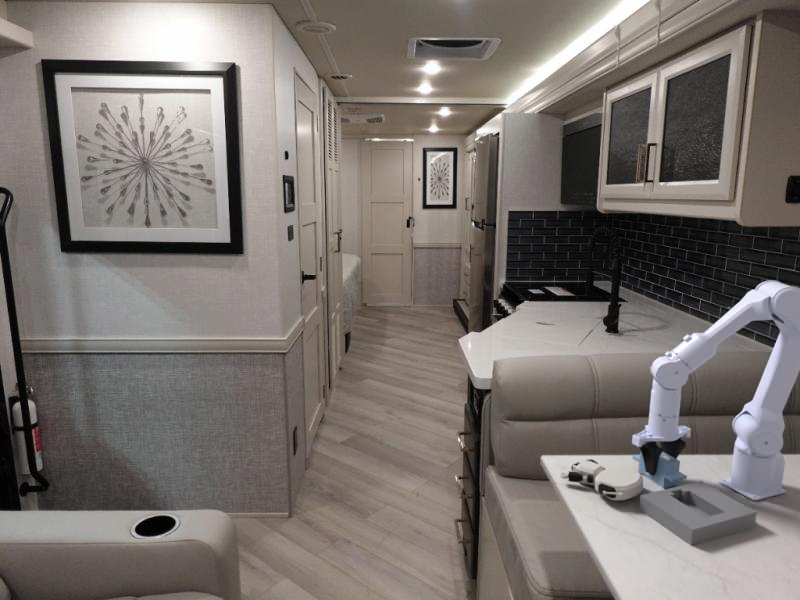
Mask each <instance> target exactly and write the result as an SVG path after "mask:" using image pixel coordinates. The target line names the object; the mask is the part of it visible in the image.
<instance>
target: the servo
mask: <svg viewBox="0 0 800 600" xmlns="http://www.w3.org/2000/svg"><path fill="white" fill-rule="evenodd" d="M632 460H634V461H636V462H638V471H639V473H640V472H641V473H647V472H646V470H645V465H644V460H643V456H642V453H641V451H639V454H637V455H632ZM680 465H681V460H679V459H678V458H677V459H675V458H673V457H672V456H670V455H668V454H666V453H664V452H662V453H661V455H660V458H659V460H658V465H657V471H656V474H655V475H651V474H649V475H642V474H641V475H642V477H643V478H644V477H645V478H646V479H648V480H649V481H651V482H652V483H654V484H656V485H657V486H659V487H661V488H663V489H667V488H669V487H673V486H674V487H676V486H677V485H678V483H679V481H682V480H686V479H687V478H688V476H687V475H686V474H684V473H682V472H680ZM678 486H679V485H678Z"/></svg>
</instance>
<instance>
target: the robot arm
mask: <svg viewBox="0 0 800 600" xmlns="http://www.w3.org/2000/svg"><path fill="white" fill-rule="evenodd" d="M771 320H772V321H773V322H774V324H775V325H776V326H777V328H778V330H779V334H778V336H777V339H776V342H774V347H773V348H772V351H771V354H770V356H769V359H768V361H767V364H766V365H765V369H764V371H763V373H762V376H761V379H760V381H759V384H758V385H757V389H756V391H755V394H754V396H753V398H752V400H751V401H749V402H747V403H745V404H744V406H743V408H742V411H740V413H738V414H737V415H736V416H735V417H734V418H733V420H732V430H733V432H734V433H735V435H736V440H735V442H734V447H733V455H732V462H731V472H730V477H729V478H728V477H727V478H724V479H720V481H719V483H720V484H722V485H724V486H725V487H728V488H730V489H731V490H733V491H735V492H737V493H739V494H740V495H742V496H744V497H746V498H748V499H750V500H752V501H755V502H756V501H758V500H763V499H766V498H770V497H774V496H779V495H781V494H786V490H785V489H784V488H783V487H782V486H783V481H784V480H783V479H784V472H785V464H786V461H785V458H784V456H783V454H782V452H781V451H782V449H783V446H784V438H783V436H784V435H783V433H784V430H785V428H786V424H785V419H784V415H783V410H784V409H785V406H786V405H787V401H788V398H789V397H790V394H791V392H792V390H793V387H794V385H795V382H796V380H797V377H798V375H799V373H800V287H797V286H791V285H788V284H785V283H782V282H781V281H779V280H775V279H774V280H773V279H771V280H770V279H769V280H765V281H763V282H761V283H759V284H758V285H756V287H755V289H750V290H749V291H748V292H746V294H745V295H744V296H743V297H742V298H741V300H740V301H739V302H738V303H736V304H735V305H734V306H733V307H732V308H730V309H729V310H728V311H727V312H726V313H725V314H723V316H722V317H721V318H719V319H717V321H716V322H715V323H714V324H713V325H712V324H711V326H710V327H709V328H708V329H707V330H706V331H704V332H693V333H692V334H691V335H689V334H686V335H685V336H683V338H682V339H683V341H682V342H681V343H680V344H678V345H677V346H676V347H674V348H673V349H672V350H671V351H669V350H667V351H666V352H665V353H664V355H663V356H659V357H657V358H656V359H655V360H654V361H653V362H652V365H651V366H649V371H650V375H651V376H652V377H653V378H652V384H651V385H652V388H651V392H650V401H649V413H648V424H646V425H644V426H645V427H644V429H643V430H642V431H640V432H638V433H635V434H632V439H631V444H632V445H633V446H634V445H635V447H637V448H639V450H640V451H641V453H642V456H643V460H644V465H645V470H646V472H647V473H649V474H651V475H655V474H656V471H657V465H658V460H659V458H660V455H661V453H662V452H664V453H666V454H668V455H670V456H672V457H673V458H675V459H677V460H678V457H679V455H680V454H681V453H682V451H683V450H684V449H685V448H686V447H687V442H686V441H685V440H683V439H682V438H683V437H684V438H687V439H688V438H691V434H692V428H690V427H687V426H685V425H679V419H680V408H681V399H682V387H683V386H685V385H686V383H687V382H688V379H689V375H690V374H691V373H693V372H694V371H696V370H697V369H698V368H700V367H701V366H702V365H704V364H705V363H706V362H707V361H709V360H710V359H711V358H713V357H714V356H715V355H716V354H717V347H718V345H719V344H720V343H722V342H723V341H725V340H726V339H728V338H730V337H731V336H732V335H733V334H735V333H737V332H738V331H740V330H741V329H743V328H744V327H746V325H749V324H750V323H751V322H753V321H771ZM659 442H660V443H659ZM657 443H659V444H660V447H659V446H658V444H657ZM640 451H639V452H640Z"/></svg>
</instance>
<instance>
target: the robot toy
mask: <svg viewBox="0 0 800 600" xmlns="http://www.w3.org/2000/svg"><path fill="white" fill-rule="evenodd" d="M570 468H571V471H569V470H568V472H561V473H560V478H561V479H564V480H566V479H568V482H571V483H580V484H583V485H585V484H586V485H590V486H594V489H595V491H596V492H597V494H599V495H601V496H604V497H605V498H608V499H609V500H611V501H616V502H618V501H625V500H629V499H631V498H634V497H636V496H638V495H639V494H640V493H641V492H642V491H643V488H644V476H643V475H649V473H639V472H638V471H639V470H638V471H637V470H635V469H632V468H628V467H624V466H622V465H621V466H618V465H616V466H615V465H614V466H611V467H607V468H605V467H603V466H602V465H600V464H599V463H598V462H597V461H596V460H594V459H592V458H591V459H589V458H587V459H583V461H576V463H573V464H571V467H570ZM641 474H642V475H641Z"/></svg>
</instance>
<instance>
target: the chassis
mask: <svg viewBox="0 0 800 600" xmlns="http://www.w3.org/2000/svg"><path fill="white" fill-rule="evenodd" d="M638 506H639V507H638V509H639V511H641V512H642V513H644V514H645V515H647V516H648V517H650V518H651V519H652V520H654V521H655V522H657V523H659V525H660V526H661V525H662V527H664V528H666V529H667V530H668V531H669V532H671V533H672V534H674V535H675V536H677V537H678V538H680V539H681V540H683V541H684V542H685V543H687V544H688V545H690V546H693V545H696V544H700V543H703V542H706V541H709V540H713V539H717V538H720V537H724V536H727V535H730V534H733V533H738V532H741V531H745V530H748V529H751V528H755V526H756V521H757V513H758V512H757V511H755V509H752V508H750V507H748V506H747V505H745V504H743V503H742V502H739V501H738V500H736V499H734V498H732V497H730V496H729V495H727V494H725V493H723V492H721V491H719V490H718V489H717V488H714V487H713V486H710V485H709V484H707V483H706V482H704V481H702V480H700V481H695V482H691V483H687V484H682V485H678V486H674V487H671V488H669V487H668V488H664V489H661V490H657V491H654V492H649V493H645V494H640V496H639V505H638Z"/></svg>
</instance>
